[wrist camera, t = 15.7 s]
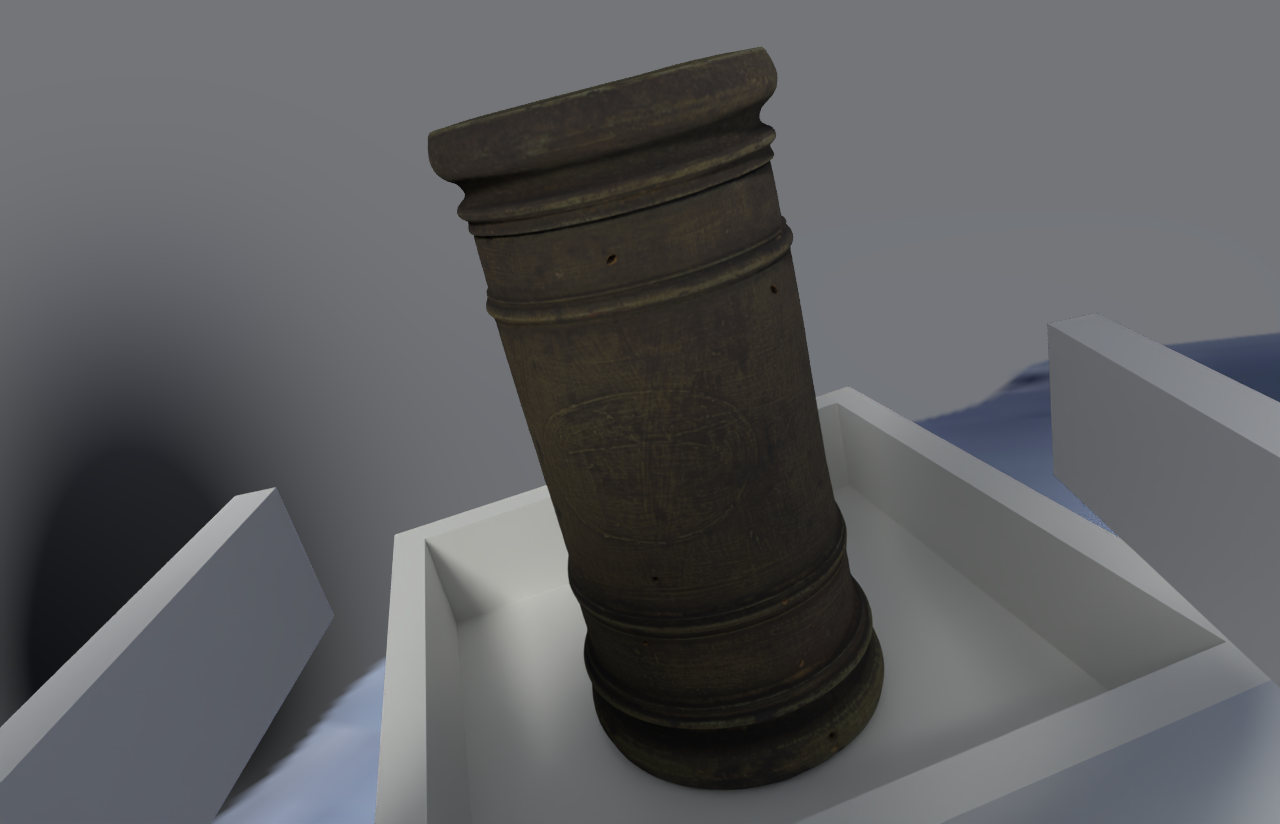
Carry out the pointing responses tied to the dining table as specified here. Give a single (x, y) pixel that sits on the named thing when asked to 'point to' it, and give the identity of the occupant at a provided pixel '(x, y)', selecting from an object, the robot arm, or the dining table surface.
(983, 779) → the white bin
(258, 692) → the robot arm
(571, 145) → the container
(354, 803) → the dining table surface
